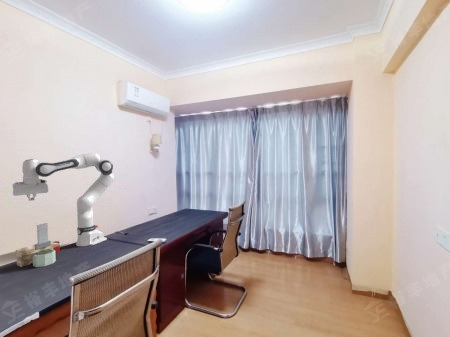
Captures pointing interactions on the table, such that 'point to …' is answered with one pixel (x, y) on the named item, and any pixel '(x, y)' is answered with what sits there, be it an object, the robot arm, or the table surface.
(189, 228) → the table surface
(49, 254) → the cup
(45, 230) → the grey upright panel
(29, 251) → the beige slab
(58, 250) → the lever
